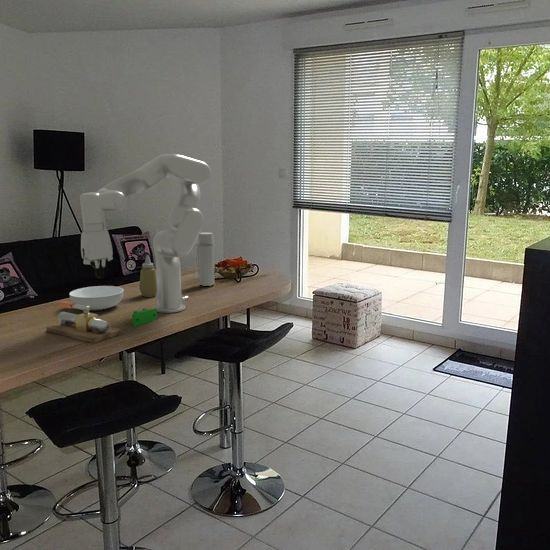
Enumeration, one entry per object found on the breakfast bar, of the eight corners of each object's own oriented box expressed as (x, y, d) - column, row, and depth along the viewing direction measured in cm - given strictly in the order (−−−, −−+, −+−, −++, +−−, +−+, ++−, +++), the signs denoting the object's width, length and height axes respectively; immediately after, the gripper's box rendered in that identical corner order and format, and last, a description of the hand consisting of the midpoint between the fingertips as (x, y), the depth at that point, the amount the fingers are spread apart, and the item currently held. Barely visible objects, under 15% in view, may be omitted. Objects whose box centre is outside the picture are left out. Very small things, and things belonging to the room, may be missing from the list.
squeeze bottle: (157, 293, 259) (155, 253, 255) (159, 297, 251) (158, 256, 248) (138, 294, 256) (137, 254, 253) (140, 298, 249) (138, 257, 245)
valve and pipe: (68, 321, 208) (67, 308, 207) (111, 331, 196) (110, 317, 195) (56, 325, 204) (55, 311, 203) (99, 335, 192) (98, 320, 191)
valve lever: (92, 313, 198) (92, 305, 198) (86, 315, 196) (85, 307, 195) (65, 308, 205) (65, 300, 204) (59, 310, 203) (58, 302, 202)
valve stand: (74, 323, 212) (74, 319, 211) (121, 333, 199) (121, 329, 199) (46, 331, 202) (46, 327, 201) (93, 343, 189) (93, 338, 189)
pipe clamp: (150, 318, 219) (150, 306, 218) (157, 320, 217) (157, 308, 216) (127, 325, 210) (126, 312, 209) (134, 326, 208) (134, 314, 207)
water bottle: (217, 284, 278) (216, 232, 273) (211, 287, 270) (210, 234, 265) (198, 283, 280) (197, 231, 275) (193, 286, 272) (191, 234, 267)
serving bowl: (98, 299, 248) (97, 283, 246) (135, 305, 238) (134, 289, 236) (58, 310, 230) (57, 293, 229) (96, 317, 220) (95, 299, 219)
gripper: (109, 224, 212) (114, 272, 217) (69, 229, 203) (76, 280, 207) (118, 225, 207) (124, 275, 211) (78, 231, 197) (84, 283, 202)
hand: (100, 277), depth 209 cm, fingers closed
